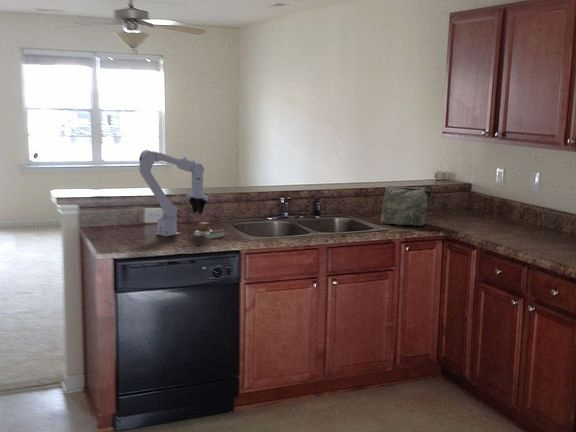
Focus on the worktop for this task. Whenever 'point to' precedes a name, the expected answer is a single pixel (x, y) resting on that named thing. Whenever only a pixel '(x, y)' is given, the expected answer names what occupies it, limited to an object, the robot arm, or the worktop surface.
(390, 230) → the worktop surface
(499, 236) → the worktop surface
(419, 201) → the lunch bag
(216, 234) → the board
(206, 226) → the walnut block
